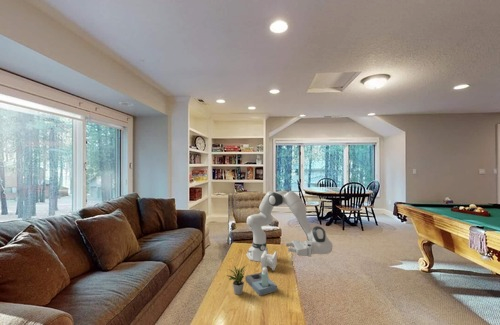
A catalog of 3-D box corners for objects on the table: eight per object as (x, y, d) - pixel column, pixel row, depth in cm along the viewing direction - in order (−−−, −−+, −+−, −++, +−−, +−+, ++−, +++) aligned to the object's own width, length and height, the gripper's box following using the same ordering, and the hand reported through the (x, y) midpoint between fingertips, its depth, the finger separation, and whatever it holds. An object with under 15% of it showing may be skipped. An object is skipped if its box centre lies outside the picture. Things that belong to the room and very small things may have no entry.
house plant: (235, 284, 164) (235, 260, 165) (253, 289, 158) (253, 264, 158) (223, 294, 152) (223, 268, 152) (242, 299, 145) (242, 272, 145)
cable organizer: (274, 272, 182) (274, 257, 182) (260, 271, 185) (260, 256, 185) (276, 264, 196) (277, 250, 196) (264, 263, 199) (264, 249, 199)
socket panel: (245, 280, 169) (245, 275, 169) (261, 277, 175) (261, 272, 175) (259, 295, 150) (259, 289, 150) (277, 291, 156) (277, 285, 156)
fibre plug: (261, 288, 159) (261, 267, 159) (267, 288, 159) (267, 267, 159) (261, 291, 155) (262, 269, 155) (268, 291, 155) (268, 269, 155)
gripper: (304, 237, 173) (285, 237, 173) (311, 247, 153) (289, 247, 153) (304, 246, 173) (284, 246, 173) (311, 257, 153) (289, 257, 153)
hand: (287, 247), depth 163 cm, fingers open, 8 cm apart
